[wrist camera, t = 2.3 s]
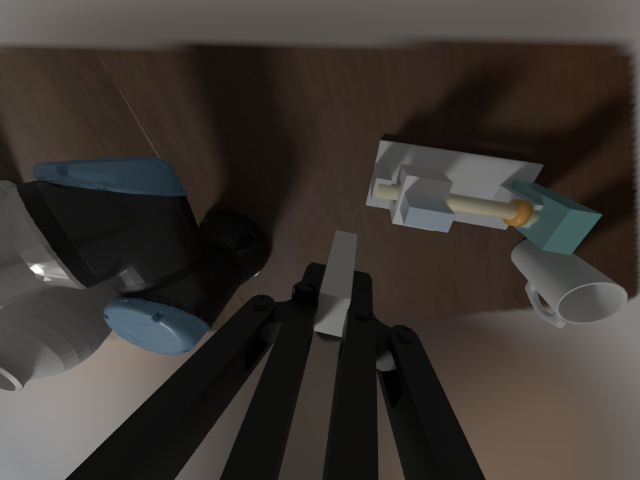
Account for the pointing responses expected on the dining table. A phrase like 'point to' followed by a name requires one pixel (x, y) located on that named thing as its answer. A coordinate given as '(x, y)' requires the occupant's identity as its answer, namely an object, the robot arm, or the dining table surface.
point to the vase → (51, 332)
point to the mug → (567, 286)
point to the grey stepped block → (422, 199)
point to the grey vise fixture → (489, 193)
